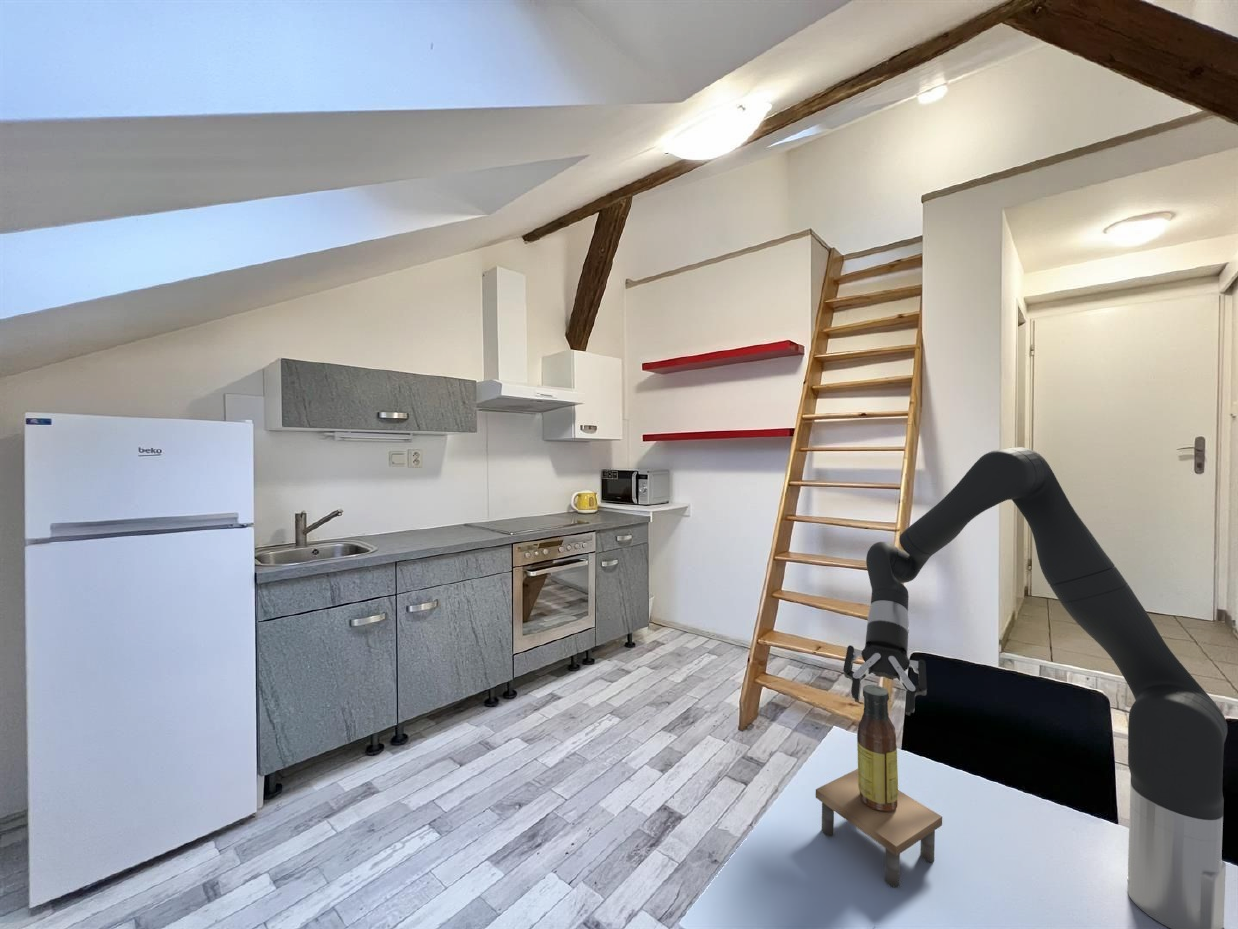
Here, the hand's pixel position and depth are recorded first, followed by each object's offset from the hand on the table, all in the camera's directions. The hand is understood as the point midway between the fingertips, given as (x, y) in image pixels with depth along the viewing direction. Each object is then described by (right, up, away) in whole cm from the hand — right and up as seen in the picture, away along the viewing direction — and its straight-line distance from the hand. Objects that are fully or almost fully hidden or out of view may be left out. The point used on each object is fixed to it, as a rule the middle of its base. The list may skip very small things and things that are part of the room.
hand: (881, 707), depth 93 cm
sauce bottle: (-4, -14, -6) cm, 16 cm away
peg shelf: (-4, -21, -7) cm, 22 cm away
